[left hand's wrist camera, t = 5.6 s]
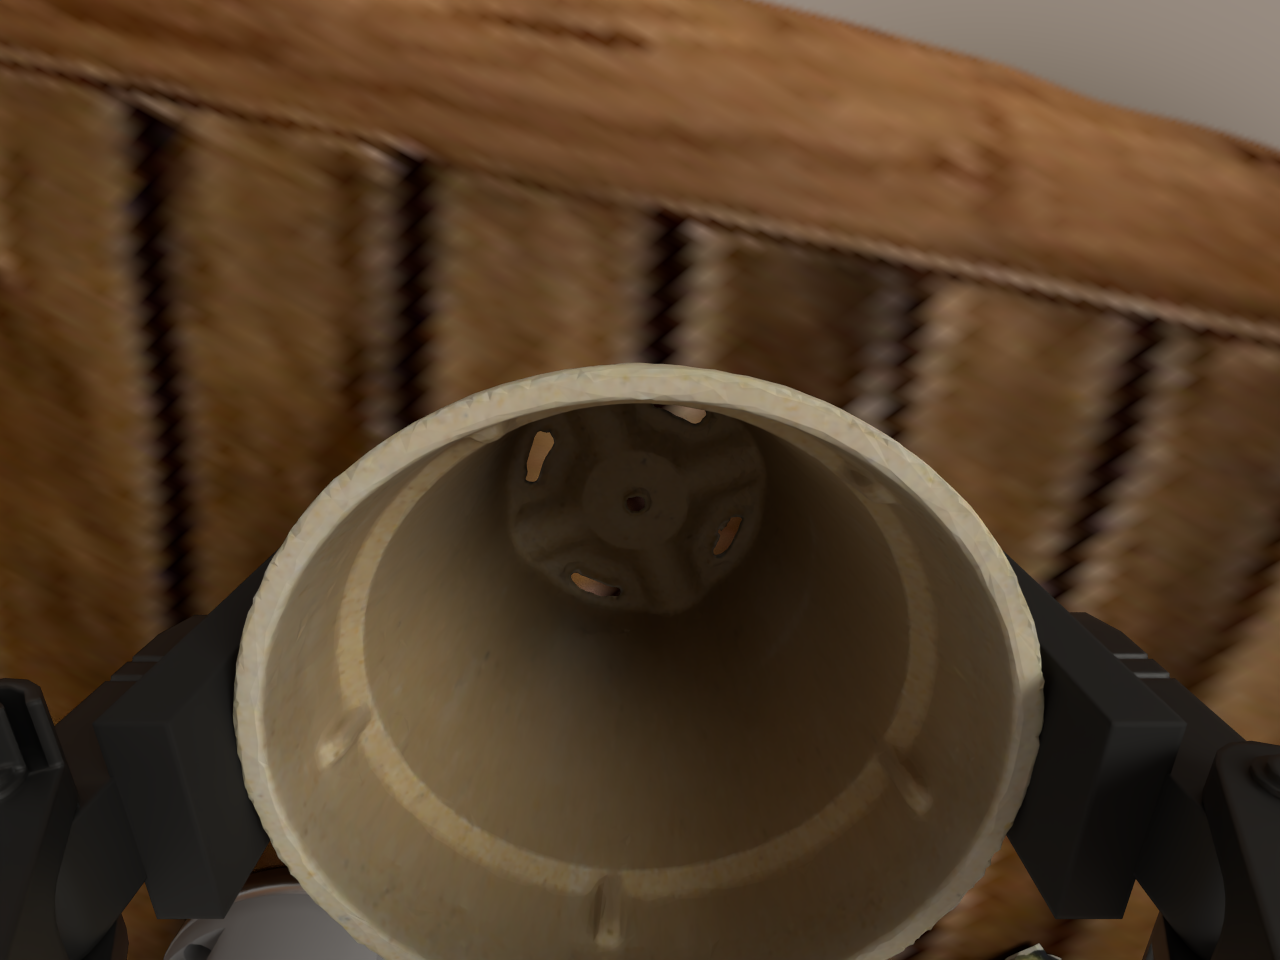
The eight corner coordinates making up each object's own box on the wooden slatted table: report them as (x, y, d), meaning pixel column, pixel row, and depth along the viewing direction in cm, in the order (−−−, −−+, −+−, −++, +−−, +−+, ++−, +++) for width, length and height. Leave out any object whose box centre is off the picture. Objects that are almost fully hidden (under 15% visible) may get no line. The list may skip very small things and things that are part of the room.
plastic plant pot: (867, 282, 15) (1144, 368, 7) (825, 666, 18) (976, 1033, 10) (412, 282, 15) (137, 368, 7) (454, 666, 18) (305, 1035, 10)
